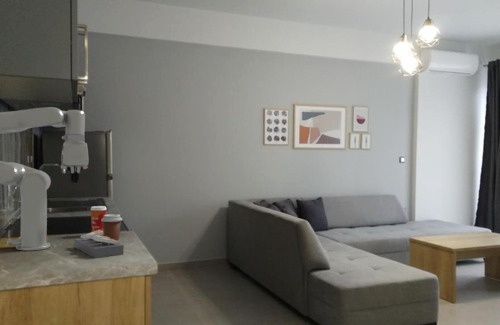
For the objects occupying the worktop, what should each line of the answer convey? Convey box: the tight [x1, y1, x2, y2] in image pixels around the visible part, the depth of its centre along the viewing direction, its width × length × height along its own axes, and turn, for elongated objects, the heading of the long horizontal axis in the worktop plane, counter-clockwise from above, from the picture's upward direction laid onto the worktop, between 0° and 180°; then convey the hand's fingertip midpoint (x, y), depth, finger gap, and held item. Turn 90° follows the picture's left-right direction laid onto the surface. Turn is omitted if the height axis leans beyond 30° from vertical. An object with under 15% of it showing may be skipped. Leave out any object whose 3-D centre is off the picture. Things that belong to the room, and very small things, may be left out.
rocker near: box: [93, 236, 118, 244], centre depth 162 cm, size 8×4×1 cm, turn 130°
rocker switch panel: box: [73, 238, 125, 259], centre depth 168 cm, size 11×24×4 cm, turn 40°
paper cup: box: [90, 205, 107, 236], centre depth 203 cm, size 8×8×14 cm
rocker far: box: [80, 230, 104, 240], centre depth 173 cm, size 8×4×1 cm, turn 131°
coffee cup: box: [101, 213, 123, 243], centre depth 188 cm, size 9×9×12 cm
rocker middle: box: [86, 233, 110, 239], centre depth 168 cm, size 8×4×1 cm, turn 130°
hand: (74, 182), depth 176 cm, fingers closed
